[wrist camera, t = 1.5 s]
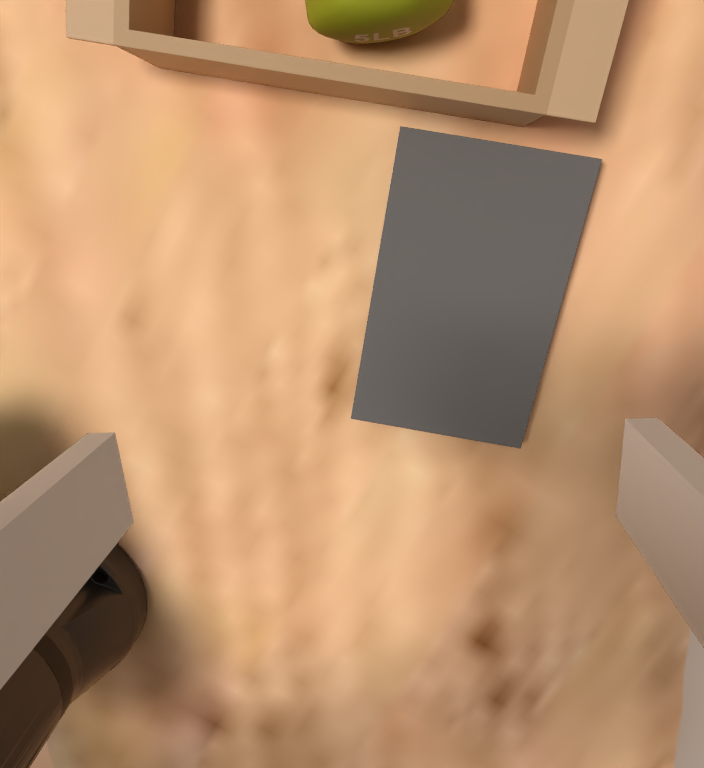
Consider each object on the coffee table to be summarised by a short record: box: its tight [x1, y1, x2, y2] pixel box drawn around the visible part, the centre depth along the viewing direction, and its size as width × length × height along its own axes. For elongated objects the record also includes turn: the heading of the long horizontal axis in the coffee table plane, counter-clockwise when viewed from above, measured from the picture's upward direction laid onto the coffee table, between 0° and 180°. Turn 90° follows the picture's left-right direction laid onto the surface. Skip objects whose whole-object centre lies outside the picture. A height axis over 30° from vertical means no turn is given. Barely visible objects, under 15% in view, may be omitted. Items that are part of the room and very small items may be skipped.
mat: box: [351, 126, 602, 448], centre depth 38 cm, size 12×19×2 cm, turn 171°
